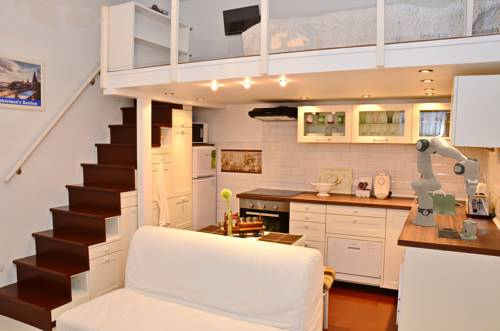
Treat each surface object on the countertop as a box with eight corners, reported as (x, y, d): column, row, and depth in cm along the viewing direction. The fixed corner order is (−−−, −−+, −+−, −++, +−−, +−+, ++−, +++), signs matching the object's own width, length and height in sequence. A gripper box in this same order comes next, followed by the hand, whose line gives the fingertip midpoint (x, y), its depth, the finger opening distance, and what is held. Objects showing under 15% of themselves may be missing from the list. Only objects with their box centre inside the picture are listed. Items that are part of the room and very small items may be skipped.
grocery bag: (453, 213, 377) (454, 189, 375) (456, 215, 363) (457, 191, 362) (418, 210, 386) (419, 188, 385) (419, 213, 373) (421, 189, 371)
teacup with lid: (474, 232, 296) (475, 217, 295) (477, 235, 287) (478, 220, 286) (457, 231, 300) (458, 216, 299) (459, 233, 291) (460, 218, 291)
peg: (463, 235, 281) (464, 221, 280) (470, 236, 279) (471, 221, 278) (464, 237, 277) (465, 222, 276) (471, 237, 275) (472, 222, 274)
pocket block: (437, 233, 290) (438, 227, 290) (455, 235, 286) (456, 228, 286) (439, 237, 279) (439, 230, 279) (457, 239, 275) (458, 232, 274)
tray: (458, 235, 285) (458, 233, 285) (474, 237, 281) (474, 234, 281) (460, 239, 274) (461, 236, 274) (477, 241, 270) (477, 238, 270)
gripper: (464, 179, 286) (462, 197, 287) (468, 182, 267) (466, 201, 268) (473, 180, 283) (472, 198, 284) (478, 182, 264) (477, 202, 265)
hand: (469, 200), depth 276 cm, fingers open, 8 cm apart
